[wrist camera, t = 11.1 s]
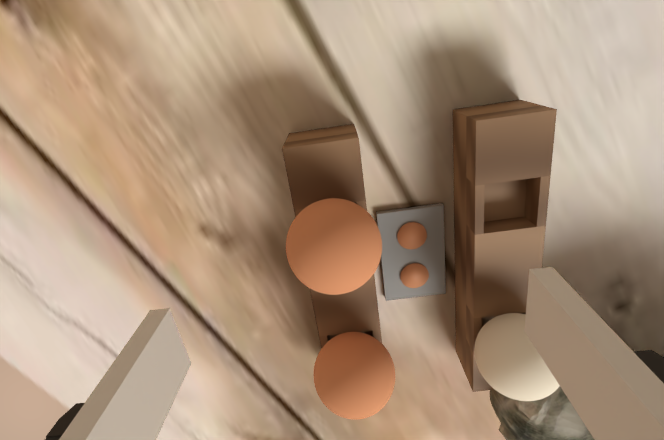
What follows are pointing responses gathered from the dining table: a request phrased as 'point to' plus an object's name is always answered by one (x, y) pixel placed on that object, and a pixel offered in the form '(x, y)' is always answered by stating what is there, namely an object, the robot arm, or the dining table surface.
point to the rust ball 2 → (354, 375)
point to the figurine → (539, 418)
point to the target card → (413, 251)
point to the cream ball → (512, 360)
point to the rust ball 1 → (334, 246)
